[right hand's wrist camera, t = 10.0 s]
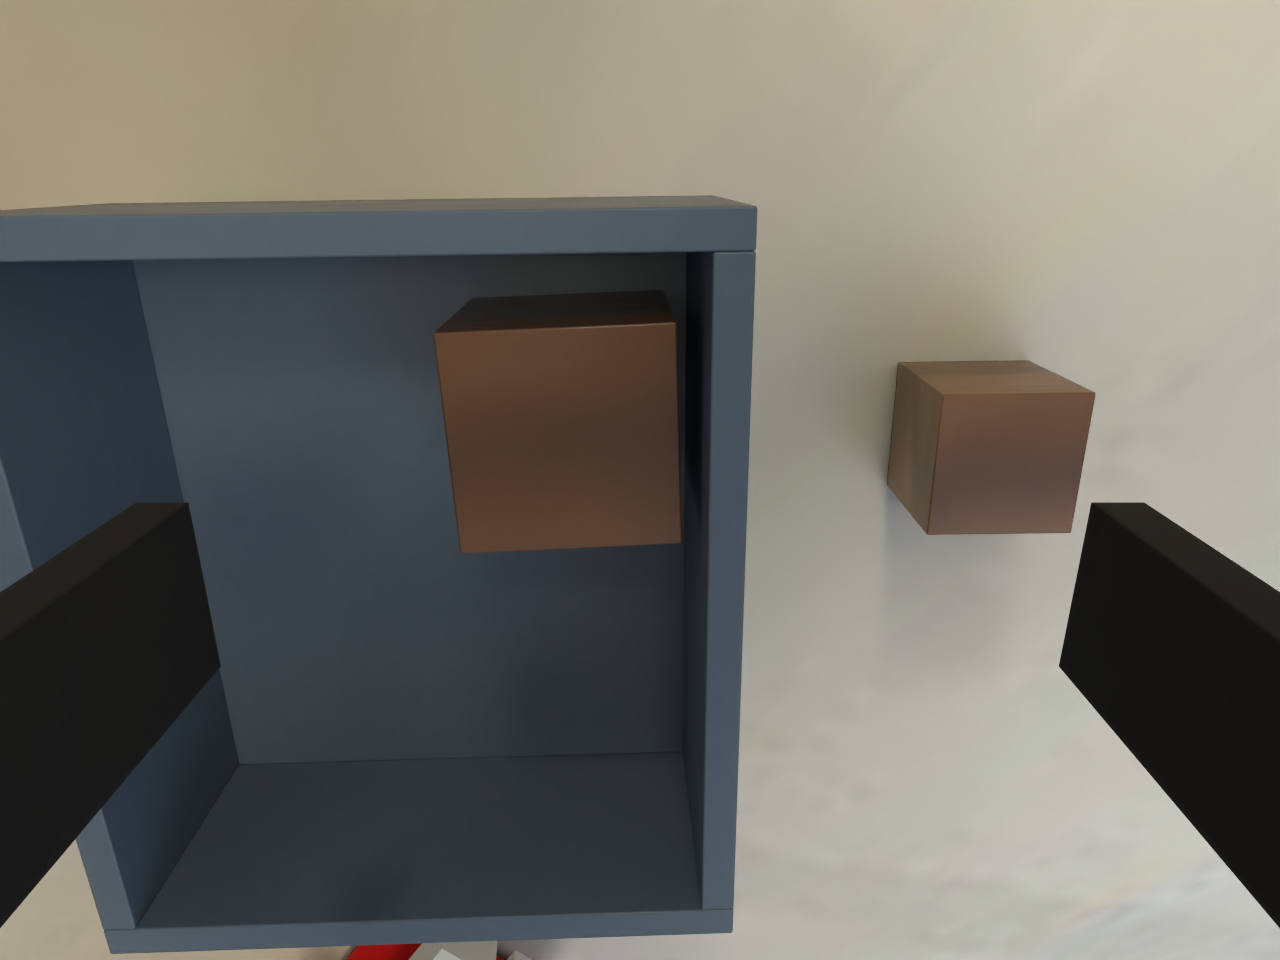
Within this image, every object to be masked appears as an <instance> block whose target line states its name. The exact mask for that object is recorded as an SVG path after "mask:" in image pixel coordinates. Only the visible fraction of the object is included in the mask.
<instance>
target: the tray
mask: <svg viewBox="0 0 1280 960" xmlns="http://www.w3.org/2000/svg"><path fill="white" fill-rule="evenodd" d="M756 231H757V207H756V206H753V205H749V204H745V203H741V202H737V201H733V200H729V199H725V198H721V197H717V196H642V197H567V198H492V199H417V200H342V201H267V202H192V203H117V204H94V205H78V206H63V207H47V208H31V209H16V210H0V592H1V591H3V590H4V589H6V588H7V587H9V586H10V585H12V584H13V583H15V582H16V581H18V580H20V579H21V578H23V577H24V576H26V575H27V574H29V573H30V572H32V571H33V570H35V569H36V568H38V567H39V566H41V565H42V564H44V563H45V562H47V561H48V560H50V559H51V558H53V557H54V556H56V555H57V554H59V553H60V552H62V551H63V550H65V549H66V548H68V547H69V546H71V545H72V544H74V543H76V542H77V541H79V540H80V539H82V538H83V537H85V536H86V535H88V534H89V533H91V532H92V531H94V530H95V529H97V528H98V527H100V526H101V525H103V524H104V523H106V522H107V521H109V520H110V519H112V518H113V517H115V516H116V515H118V514H119V513H121V512H122V511H124V510H125V509H127V508H128V507H130V506H132V505H133V504H135V503H189V508H190V513H191V518H192V523H193V528H194V533H195V538H196V543H197V548H198V553H199V558H200V563H201V568H202V573H203V578H204V583H205V588H206V593H207V598H208V604H209V609H210V614H211V619H212V624H213V629H214V634H215V639H216V644H217V649H218V654H219V659H220V664H221V667H220V668H219V669H218V670H217V672H216V673H215V674H214V675H213V676H212V678H211V679H210V680H209V681H208V682H207V683H206V685H205V686H204V687H203V688H202V689H201V691H200V692H199V693H198V694H197V695H196V696H195V698H194V699H193V700H192V701H191V702H190V704H189V705H188V706H187V707H186V708H185V710H184V711H183V712H182V713H181V714H180V715H179V717H178V718H177V719H176V720H175V721H174V723H173V724H172V725H171V726H170V727H169V728H168V730H167V731H166V732H165V733H164V734H163V736H162V737H161V738H160V739H159V740H158V742H157V743H156V744H155V745H154V746H153V747H152V749H151V750H150V751H149V752H148V753H147V755H146V756H145V757H144V758H143V759H142V760H141V762H140V763H139V764H138V765H137V766H136V768H135V769H134V770H133V771H132V772H131V774H130V775H129V776H128V777H127V778H126V779H125V781H124V782H123V783H122V784H121V785H120V787H119V788H118V789H117V790H116V791H115V793H114V794H113V795H112V796H111V797H110V798H109V800H108V801H107V802H106V803H105V804H104V806H103V807H102V808H101V809H100V810H99V811H98V813H97V814H96V815H95V816H94V817H93V819H92V820H91V821H90V822H89V823H88V825H87V826H86V827H85V828H84V829H83V830H82V832H81V833H80V834H79V835H78V836H77V838H76V841H77V845H78V848H79V851H80V854H81V858H82V861H83V864H84V868H85V871H86V874H87V877H88V881H89V884H90V887H91V890H92V894H93V897H94V900H95V904H96V907H97V910H98V913H99V917H100V920H101V923H102V926H103V929H104V933H105V937H106V940H107V943H108V946H109V950H110V953H111V954H122V953H151V952H181V951H210V950H239V949H269V948H298V947H327V946H357V945H386V944H415V943H444V942H474V941H503V940H532V939H562V938H591V937H620V936H650V935H679V934H708V933H731V932H732V930H733V901H734V872H735V843H736V814H737V784H738V755H739V726H740V697H741V668H742V639H743V610H744V580H745V551H746V522H747V493H748V464H749V435H750V406H751V376H752V347H753V318H754V289H755V260H756V253H755V252H754V250H755V249H756ZM643 290H663V291H664V294H665V296H666V299H667V301H668V303H669V306H670V308H671V311H672V313H673V315H674V318H675V320H676V323H677V342H678V383H679V424H680V465H681V506H682V543H677V544H657V545H636V546H615V547H595V548H574V549H554V550H533V551H512V552H492V553H471V554H461V552H460V546H459V538H458V530H457V522H456V514H455V506H454V498H453V490H452V482H451V474H450V466H449V458H448V450H447V442H446V434H445V426H444V418H443V410H442V402H441V394H440V386H439V378H438V370H437V362H436V354H435V346H434V337H433V334H434V332H435V331H436V330H437V329H438V328H440V327H441V326H442V325H443V324H444V323H445V322H446V321H447V320H448V319H450V318H451V317H452V316H453V315H454V314H455V313H456V312H457V311H458V310H460V309H461V308H462V307H463V306H464V305H465V304H466V303H467V302H468V301H470V300H471V299H472V298H485V297H508V296H530V295H553V294H576V293H598V292H621V291H643Z"/></svg>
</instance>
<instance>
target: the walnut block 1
mask: <svg viewBox="0 0 1280 960" xmlns="http://www.w3.org/2000/svg"><path fill="white" fill-rule="evenodd" d="M433 337H434V346H435V354H436V362H437V370H438V378H439V386H440V394H441V402H442V410H443V418H444V426H445V434H446V442H447V450H448V458H449V466H450V474H451V482H452V490H453V498H454V506H455V514H456V522H457V530H458V538H459V546H460V552H461V554H471V553H492V552H512V551H533V550H554V549H574V548H595V547H615V546H636V545H657V544H677V543H682V506H681V465H680V424H679V383H678V342H677V323H676V320H675V318H674V315H673V313H672V311H671V308H670V306H669V303H668V301H667V299H666V296H665V294H664V291H663V290H643V291H621V292H598V293H576V294H553V295H530V296H508V297H485V298H472V299H471V300H470V301H468V302H467V303H466V304H465V305H464V306H463V307H462V308H461V309H460V310H458V311H457V312H456V313H455V314H454V315H453V316H452V317H451V318H450V319H448V320H447V321H446V322H445V323H444V324H443V325H442V326H441V327H440V328H438V329H437V330H436V331H435V332H434V334H433Z"/></svg>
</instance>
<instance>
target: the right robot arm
mask: <svg viewBox="0 0 1280 960" xmlns="http://www.w3.org/2000/svg"><path fill="white" fill-rule="evenodd" d="M220 667H221V664H220V659H219V654H218V649H217V644H216V639H215V634H214V629H213V624H212V619H211V614H210V609H209V604H208V598H207V593H206V588H205V583H204V578H203V573H202V568H201V563H200V558H199V553H198V548H197V543H196V538H195V533H194V528H193V523H192V518H191V513H190V508H189V503H135V504H133V505H132V506H130V507H128V508H127V509H125V510H124V511H122V512H121V513H119V514H118V515H116V516H115V517H113V518H112V519H110V520H109V521H107V522H106V523H104V524H103V525H101V526H100V527H98V528H97V529H95V530H94V531H92V532H91V533H89V534H88V535H86V536H85V537H83V538H82V539H80V540H79V541H77V542H76V543H74V544H72V545H71V546H69V547H68V548H66V549H65V550H63V551H62V552H60V553H59V554H57V555H56V556H54V557H53V558H51V559H50V560H48V561H47V562H45V563H44V564H42V565H41V566H39V567H38V568H36V569H35V570H33V571H32V572H30V573H29V574H27V575H26V576H24V577H23V578H21V579H20V580H18V581H16V582H15V583H13V584H12V585H10V586H9V587H7V588H6V589H4V590H3V591H1V592H0V928H1V926H2V925H3V924H4V923H5V922H6V921H7V919H8V918H9V917H10V916H11V915H12V913H13V912H14V911H15V910H16V909H17V907H18V906H19V905H20V904H21V903H22V902H23V900H24V899H25V898H26V897H27V896H28V894H29V893H30V892H31V891H32V890H33V889H34V887H35V886H36V885H37V884H38V883H39V881H40V880H41V879H42V878H43V877H44V875H45V874H46V873H47V872H48V871H49V870H50V868H51V867H52V866H53V865H54V864H55V862H56V861H57V860H58V859H59V858H60V857H61V855H62V854H63V853H64V852H65V851H66V849H67V848H68V847H69V846H70V845H71V843H72V842H73V841H74V840H75V839H76V838H77V836H78V835H79V834H80V833H81V832H82V830H83V829H84V828H85V827H86V826H87V825H88V823H89V822H90V821H91V820H92V819H93V817H94V816H95V815H96V814H97V813H98V811H99V810H100V809H101V808H102V807H103V806H104V804H105V803H106V802H107V801H108V800H109V798H110V797H111V796H112V795H113V794H114V793H115V791H116V790H117V789H118V788H119V787H120V785H121V784H122V783H123V782H124V781H125V779H126V778H127V777H128V776H129V775H130V774H131V772H132V771H133V770H134V769H135V768H136V766H137V765H138V764H139V763H140V762H141V760H142V759H143V758H144V757H145V756H146V755H147V753H148V752H149V751H150V750H151V749H152V747H153V746H154V745H155V744H156V743H157V742H158V740H159V739H160V738H161V737H162V736H163V734H164V733H165V732H166V731H167V730H168V728H169V727H170V726H171V725H172V724H173V723H174V721H175V720H176V719H177V718H178V717H179V715H180V714H181V713H182V712H183V711H184V710H185V708H186V707H187V706H188V705H189V704H190V702H191V701H192V700H193V699H194V698H195V696H196V695H197V694H198V693H199V692H200V691H201V689H202V688H203V687H204V686H205V685H206V683H207V682H208V681H209V680H210V679H211V678H212V676H213V675H214V674H215V673H216V672H217V670H218V669H219V668H220ZM1059 667H1060V668H1061V669H1062V670H1063V672H1064V673H1065V674H1066V675H1067V676H1068V678H1069V679H1070V680H1071V681H1072V682H1073V683H1074V685H1075V686H1076V687H1077V688H1078V689H1079V691H1080V692H1081V693H1082V694H1083V695H1084V696H1085V698H1086V699H1087V700H1088V701H1089V702H1090V704H1091V705H1092V706H1093V707H1094V708H1095V710H1096V711H1097V712H1098V713H1099V714H1100V715H1101V717H1102V718H1103V719H1104V720H1105V721H1106V723H1107V724H1108V725H1109V726H1110V727H1111V728H1112V730H1113V731H1114V732H1115V733H1116V734H1117V736H1118V737H1119V738H1120V739H1121V740H1122V742H1123V743H1124V744H1125V745H1126V746H1127V747H1128V749H1129V750H1130V751H1131V752H1132V753H1133V755H1134V756H1135V757H1136V758H1137V759H1138V760H1139V762H1140V763H1141V764H1142V765H1143V766H1144V768H1145V769H1146V770H1147V771H1148V772H1149V774H1150V775H1151V776H1152V777H1153V778H1154V779H1155V781H1156V782H1157V783H1158V784H1159V785H1160V787H1161V788H1162V789H1163V790H1164V791H1165V793H1166V794H1167V795H1168V796H1169V797H1170V798H1171V800H1172V801H1173V802H1174V803H1175V804H1176V806H1177V807H1178V808H1179V809H1180V810H1181V811H1182V813H1183V814H1184V815H1185V816H1186V817H1187V819H1188V820H1189V821H1190V822H1191V823H1192V825H1193V826H1194V827H1195V828H1196V829H1197V830H1198V832H1199V833H1200V834H1201V835H1202V836H1203V838H1204V839H1205V840H1206V841H1207V842H1208V843H1209V845H1210V846H1211V847H1212V848H1213V849H1214V851H1215V852H1216V853H1217V854H1218V855H1219V857H1220V858H1221V859H1222V860H1223V861H1224V862H1225V864H1226V865H1227V866H1228V867H1229V868H1230V870H1231V871H1232V872H1233V873H1234V874H1235V875H1236V877H1237V878H1238V879H1239V880H1240V881H1241V883H1242V884H1243V885H1244V886H1245V887H1246V889H1247V890H1248V891H1249V892H1250V893H1251V894H1252V896H1253V897H1254V898H1255V899H1256V900H1257V902H1258V903H1259V904H1260V905H1261V906H1262V907H1263V909H1264V910H1265V911H1266V912H1267V913H1268V915H1269V916H1270V917H1271V918H1272V919H1273V921H1274V922H1275V923H1276V924H1277V925H1278V926H1279V928H1280V592H1279V591H1277V590H1276V589H1274V588H1273V587H1271V586H1270V585H1268V584H1267V583H1265V582H1264V581H1262V580H1260V579H1259V578H1257V577H1256V576H1254V575H1253V574H1251V573H1250V572H1248V571H1247V570H1245V569H1244V568H1242V567H1241V566H1239V565H1238V564H1236V563H1235V562H1233V561H1232V560H1230V559H1229V558H1227V557H1226V556H1224V555H1223V554H1221V553H1220V552H1218V551H1217V550H1215V549H1214V548H1212V547H1211V546H1209V545H1208V544H1206V543H1204V542H1203V541H1201V540H1200V539H1198V538H1197V537H1195V536H1194V535H1192V534H1191V533H1189V532H1188V531H1186V530H1185V529H1183V528H1182V527H1180V526H1179V525H1177V524H1176V523H1174V522H1173V521H1171V520H1170V519H1168V518H1167V517H1165V516H1164V515H1162V514H1161V513H1159V512H1158V511H1156V510H1155V509H1153V508H1152V507H1150V506H1148V505H1147V504H1145V503H1091V508H1090V513H1089V518H1088V523H1087V528H1086V533H1085V538H1084V543H1083V548H1082V553H1081V558H1080V563H1079V568H1078V573H1077V578H1076V583H1075V588H1074V593H1073V598H1072V604H1071V609H1070V614H1069V619H1068V624H1067V629H1066V634H1065V639H1064V644H1063V649H1062V654H1061V659H1060V664H1059Z"/></svg>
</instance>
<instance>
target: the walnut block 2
mask: <svg viewBox="0 0 1280 960" xmlns="http://www.w3.org/2000/svg"><path fill="white" fill-rule="evenodd" d="M1094 399H1095V392H1093V391H1090V390H1088V389H1086V388H1084V387H1082V386H1080V385H1078V384H1076V383H1074V382H1072V381H1070V380H1068V379H1066V378H1063V377H1061V376H1059V375H1057V374H1055V373H1053V372H1051V371H1049V370H1047V369H1045V368H1043V367H1041V366H1039V365H1037V364H1034V363H1032V362H1030V361H963V362H899V364H898V374H897V384H896V395H895V406H894V416H893V427H892V437H891V448H890V459H889V469H888V480H887V485H888V486H889V488H890V489H891V490H892V491H893V493H894V494H895V495H896V496H897V498H898V499H899V500H900V501H901V503H902V504H903V505H904V506H905V508H906V509H907V510H908V511H909V513H910V514H911V515H912V516H913V518H914V519H915V520H916V521H917V523H918V524H919V525H920V526H921V528H922V529H923V530H924V531H925V533H926V534H928V535H936V534H1017V533H1070V532H1071V528H1072V523H1073V517H1074V511H1075V506H1076V500H1077V494H1078V489H1079V483H1080V478H1081V472H1082V466H1083V461H1084V455H1085V449H1086V444H1087V438H1088V433H1089V427H1090V421H1091V416H1092V410H1093V404H1094Z"/></svg>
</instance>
